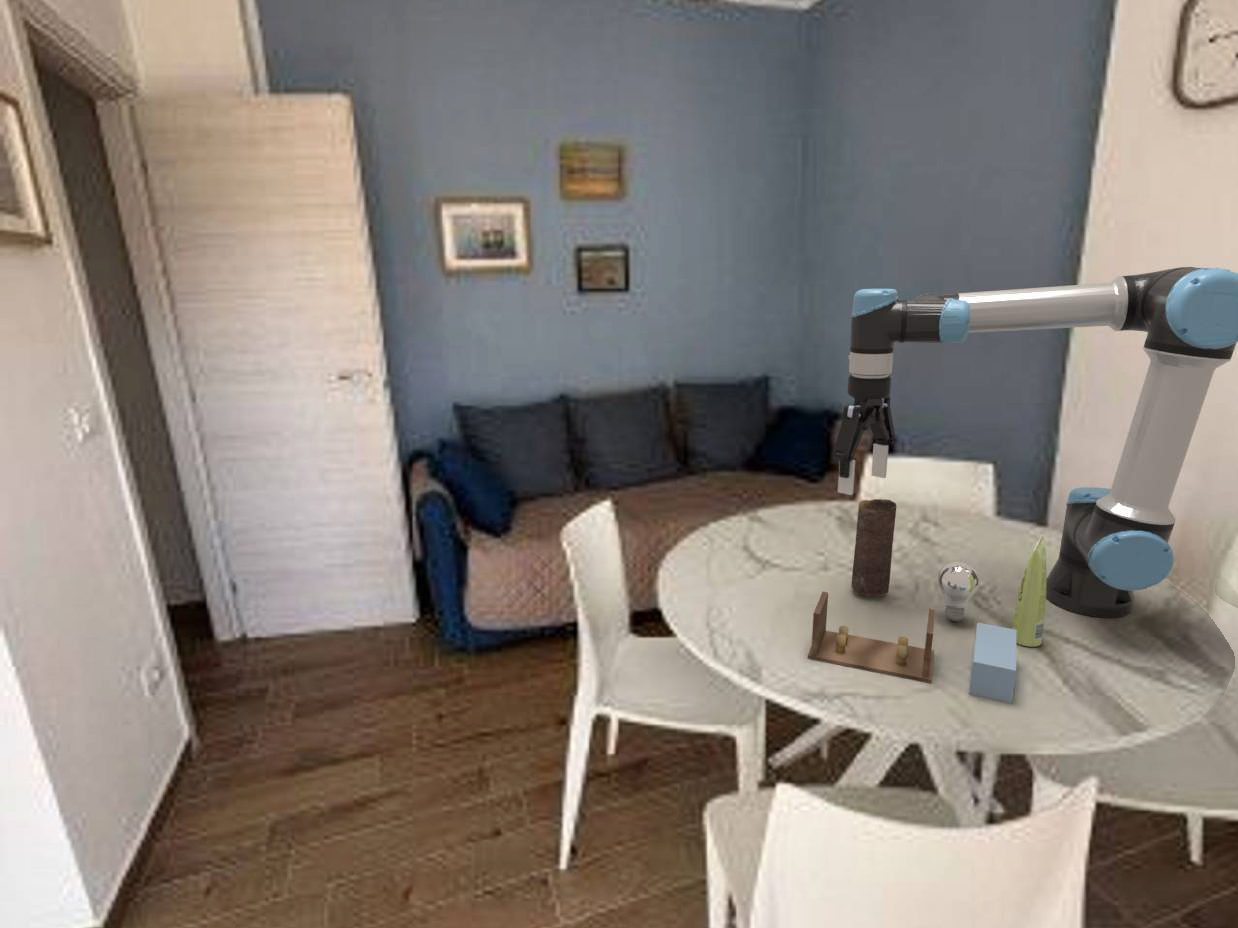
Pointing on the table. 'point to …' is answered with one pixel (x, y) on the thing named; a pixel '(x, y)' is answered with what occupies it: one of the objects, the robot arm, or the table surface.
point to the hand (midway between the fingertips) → (862, 484)
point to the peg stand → (871, 649)
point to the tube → (1032, 599)
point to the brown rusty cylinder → (873, 547)
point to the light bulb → (957, 587)
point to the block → (994, 663)
